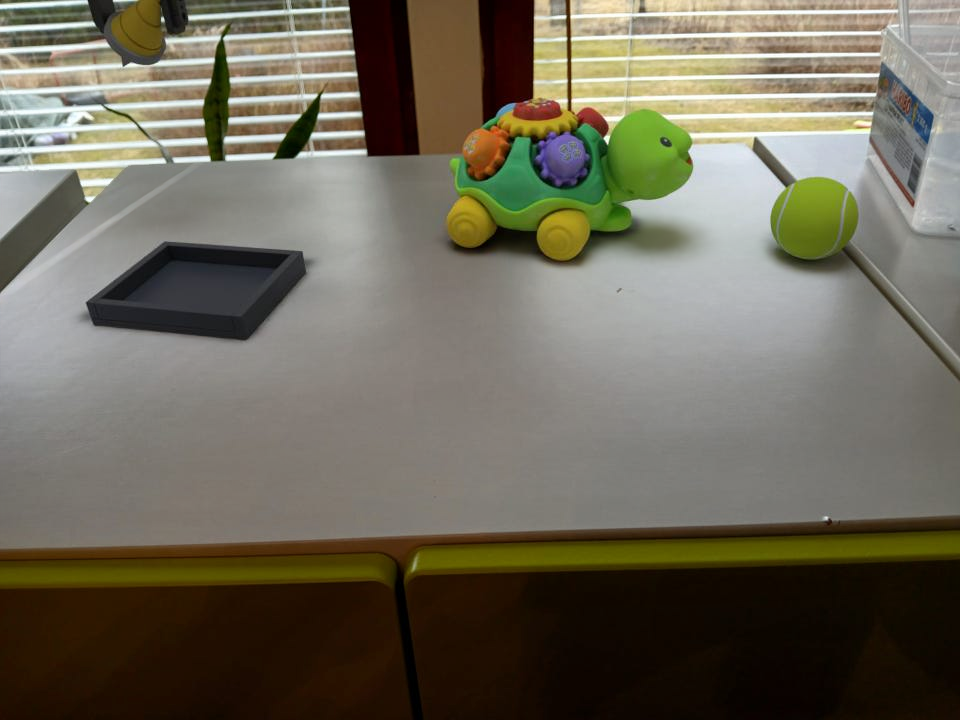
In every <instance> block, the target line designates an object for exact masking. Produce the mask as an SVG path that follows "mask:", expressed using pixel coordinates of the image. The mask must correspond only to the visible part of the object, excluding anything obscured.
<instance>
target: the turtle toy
mask: <svg viewBox="0 0 960 720" xmlns="http://www.w3.org/2000/svg"><path fill="white" fill-rule="evenodd" d="M609 127H610V126H609V124H608V122H607V120H606V119H605V117H604V116H603V115H602V114H601V113H600V112H598V111H597V110H596V109H595V108H592V107H589V106H588V107H584V108H582V109H581V110H579V111H578V112H577V113H576V112H575V111H573V110H570V111H569V110H567V109H564V108H561V105H560V103H559V102H558V101H555V99H552V100H551V99H547V98H542V97H538V98H531V99H528V100H525V101H522V102H513V103H508V104H506V105H505V106H503V107H501V108H500V109H499V110H498V112H497V113H496V115H495V117H494V118H492V119H489V120H488V121H486V123H484V124H482V126H481V127H480V128H477V129H474V130H473V131H472V132H471V133H470V134H469V135H468V136H467V137H466V138H465V141H464V143H463V145H462V153H461V156H460V158H458V157H453V158H452V159H450V161H449V169H450V172H451V173H452V174H453V175H454V188H455V191H456V195H457V196H458V200H456V202H454V204H453V206H452V208H451V209H450V211H449V212H448V214H447V216H446V219H445V220H446V222H445V227H446V230H447V234H448V235H449V237H450V239H451V240H452V241H453V242H454V243H455V244H456V245H459V246H460V247H464V248H468V249H473V248H477V247H479V246H481V245H483V244H484V243H485V242H486V241H487V240H489V239H490V238H492V236H493V235H494V234H495V233H496V231H497V229H498V227H502V228H505V229H508V230H516V231H522V232H523V231H524V232H536V241H537V245H538V247H539V249H540V251H541V252H542V253H543V254H544V255H545V256H546V257H548V258H550V259H552V260H555V261H560V262H561V261H563V262H564V261H569V260H571V259H574V258H575V257H576V256H578V255H579V253H580V252H581V251H582V250H583V248H584V246H585V245H586V243H587V242H588V240H589V238H590V234H591V231H600V232H620V231H625V230H627V229H628V228H629V227H630V226H631V225H632V223H633V221H632V220H633V219H632V218H633V217H632V211H631V209H630V208H629V207H628V206H625V205H623V204H620V203H626V202H631V201H637V200H641V201H655V200H660V199H662V198H665V197H667V196H669V195H671V194H673V193H675V192H676V191H679V189H681V188H682V187H683V186H685V184H686V183H687V182H688V181H689V180H690V178H691V176H692V174H693V171H694V161H693V159H692V156H691V154H690V152H689V150H690V149H691V148H692V146H693V139H692V137H691V134H690V133H689V132H687V130H685V129H683V128H682V127H679V126H678V125H677V124H675V123H673V122H671V121H670V120H668V119H667V118H666V117H665V116H663V115H662V114H661V113H658V112H657V111H655V110H652V109H648V108H647V109H646V108H641V109H637V110H635V111H632V112H630V113H627V114H626V115H624V116H623V117H622V118H621V119H620V120H619V122H618V123H617V124H616V125H615V126H614V127H613V129H612V131H611V133H610V136H609V140H608V143H607V141H606V140H605V138H606V136H607V134H608V133H609V129H610V128H609Z"/></svg>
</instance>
